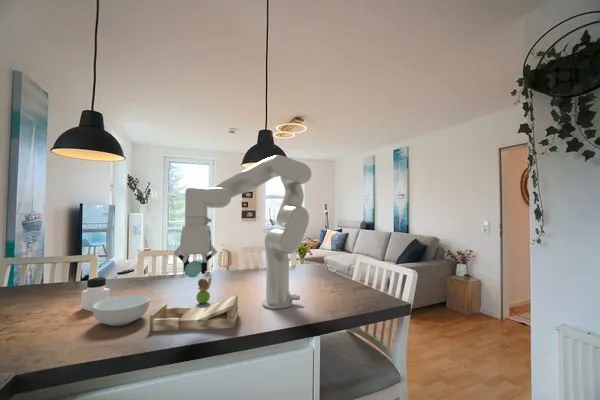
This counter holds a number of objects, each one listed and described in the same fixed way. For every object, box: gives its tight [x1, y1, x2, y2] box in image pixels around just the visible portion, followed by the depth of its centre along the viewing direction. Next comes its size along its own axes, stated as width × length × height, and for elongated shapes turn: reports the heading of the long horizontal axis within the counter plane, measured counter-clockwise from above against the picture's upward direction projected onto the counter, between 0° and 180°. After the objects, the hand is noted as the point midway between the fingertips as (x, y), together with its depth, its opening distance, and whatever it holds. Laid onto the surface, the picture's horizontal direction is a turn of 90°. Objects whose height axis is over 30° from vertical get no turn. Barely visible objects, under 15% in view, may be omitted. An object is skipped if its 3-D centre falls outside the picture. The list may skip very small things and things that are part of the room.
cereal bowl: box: [92, 294, 151, 327], centre depth 100 cm, size 17×17×7 cm
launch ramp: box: [149, 294, 239, 332], centre depth 100 cm, size 27×12×8 cm, turn 96°
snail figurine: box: [196, 274, 213, 305], centre depth 120 cm, size 5×6×12 cm
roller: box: [184, 258, 203, 278], centre depth 100 cm, size 5×8×5 cm, turn 5°
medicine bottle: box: [80, 276, 112, 313], centre depth 114 cm, size 7×7×12 cm
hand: (195, 272), depth 100 cm, fingers closed on roller, 5 cm apart
